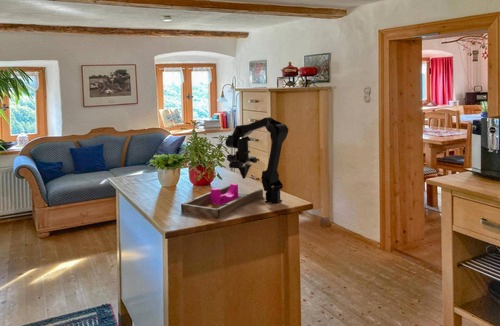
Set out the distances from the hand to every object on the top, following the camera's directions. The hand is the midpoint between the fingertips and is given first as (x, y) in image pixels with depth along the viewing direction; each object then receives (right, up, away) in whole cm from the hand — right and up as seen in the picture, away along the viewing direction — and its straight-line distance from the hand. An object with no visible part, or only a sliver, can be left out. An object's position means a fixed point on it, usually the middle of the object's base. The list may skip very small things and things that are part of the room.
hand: (243, 178), depth 237 cm
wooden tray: (-9, -12, -14) cm, 21 cm away
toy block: (-9, -12, -8) cm, 17 cm away
